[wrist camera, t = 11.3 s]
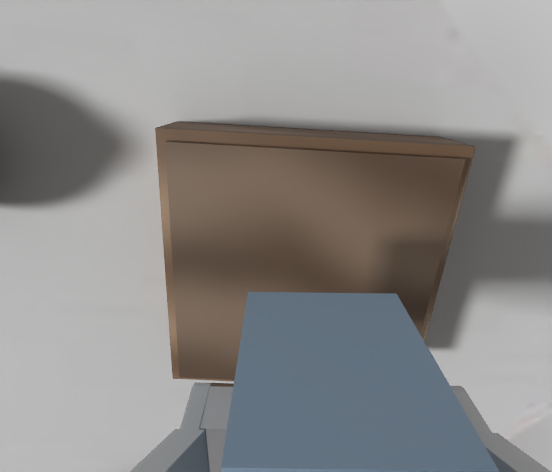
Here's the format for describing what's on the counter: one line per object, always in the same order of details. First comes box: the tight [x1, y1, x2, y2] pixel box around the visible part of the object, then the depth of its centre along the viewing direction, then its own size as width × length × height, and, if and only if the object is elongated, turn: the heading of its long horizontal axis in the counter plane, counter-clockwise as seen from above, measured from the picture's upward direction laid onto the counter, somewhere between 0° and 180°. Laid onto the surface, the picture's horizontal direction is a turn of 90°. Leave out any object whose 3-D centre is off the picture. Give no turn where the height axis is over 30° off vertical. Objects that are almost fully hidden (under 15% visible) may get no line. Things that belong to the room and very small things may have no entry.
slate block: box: [221, 292, 499, 472], centre depth 10 cm, size 5×5×6 cm
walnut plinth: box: [155, 122, 475, 381], centre depth 20 cm, size 14×14×4 cm
